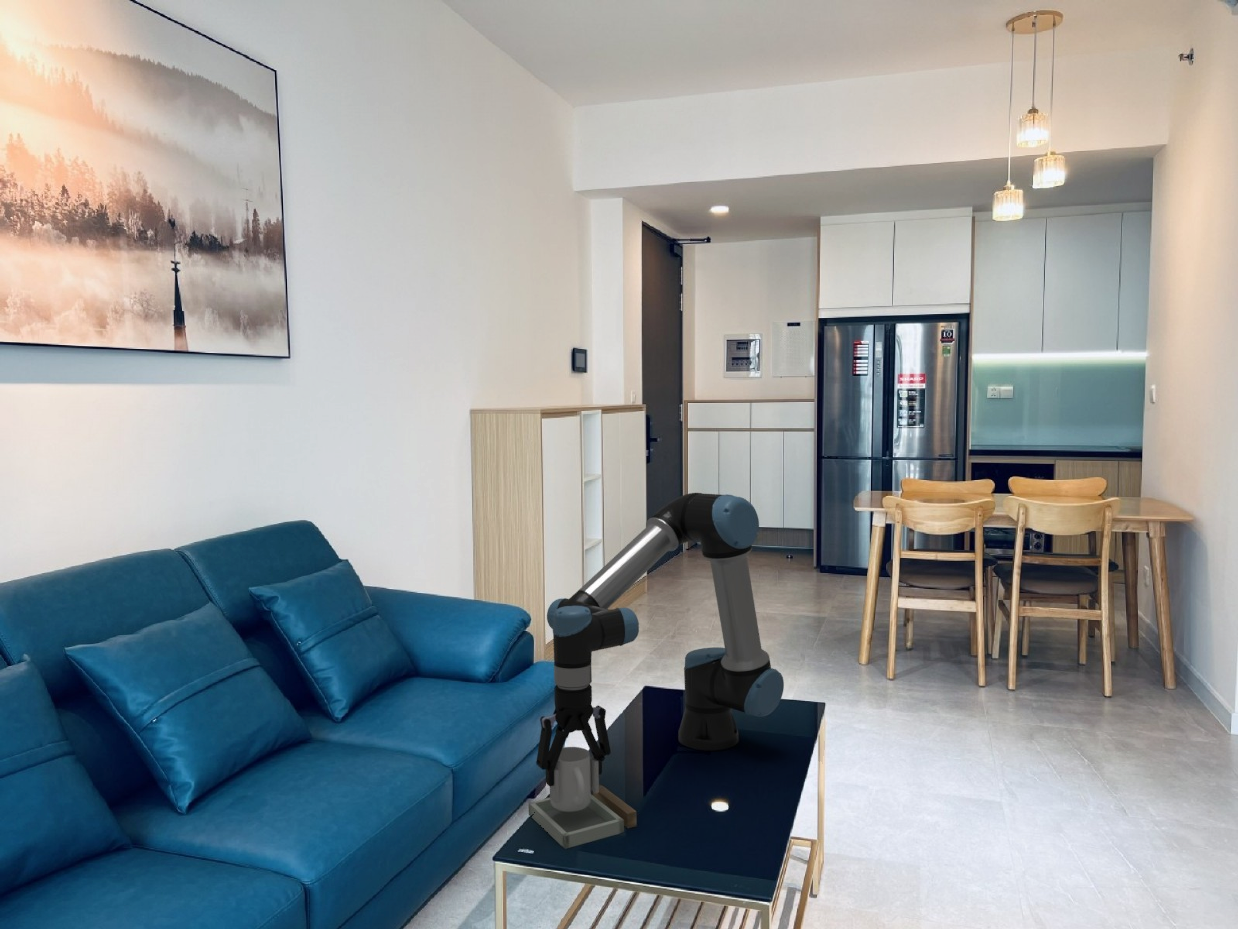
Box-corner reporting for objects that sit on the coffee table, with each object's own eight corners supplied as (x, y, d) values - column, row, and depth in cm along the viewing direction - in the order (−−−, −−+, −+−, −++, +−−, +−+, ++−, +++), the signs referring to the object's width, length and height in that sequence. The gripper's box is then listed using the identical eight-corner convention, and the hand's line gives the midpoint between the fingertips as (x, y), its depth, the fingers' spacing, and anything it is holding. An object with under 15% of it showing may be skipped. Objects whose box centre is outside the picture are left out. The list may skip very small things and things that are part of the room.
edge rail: (601, 798, 189) (600, 784, 188) (636, 826, 176) (636, 811, 175) (592, 800, 188) (592, 786, 188) (628, 828, 175) (627, 813, 174)
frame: (584, 800, 188) (584, 789, 188) (624, 832, 173) (623, 820, 173) (528, 814, 181) (528, 802, 181) (564, 849, 167) (564, 836, 167)
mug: (602, 816, 173) (601, 765, 172) (561, 823, 170) (561, 771, 169) (583, 792, 184) (583, 744, 183) (545, 798, 181) (544, 749, 181)
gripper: (609, 672, 184) (611, 778, 185) (517, 688, 174) (519, 800, 175) (627, 681, 178) (628, 790, 179) (532, 698, 167) (534, 814, 168)
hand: (574, 795), depth 177 cm, fingers closed on mug, 8 cm apart
